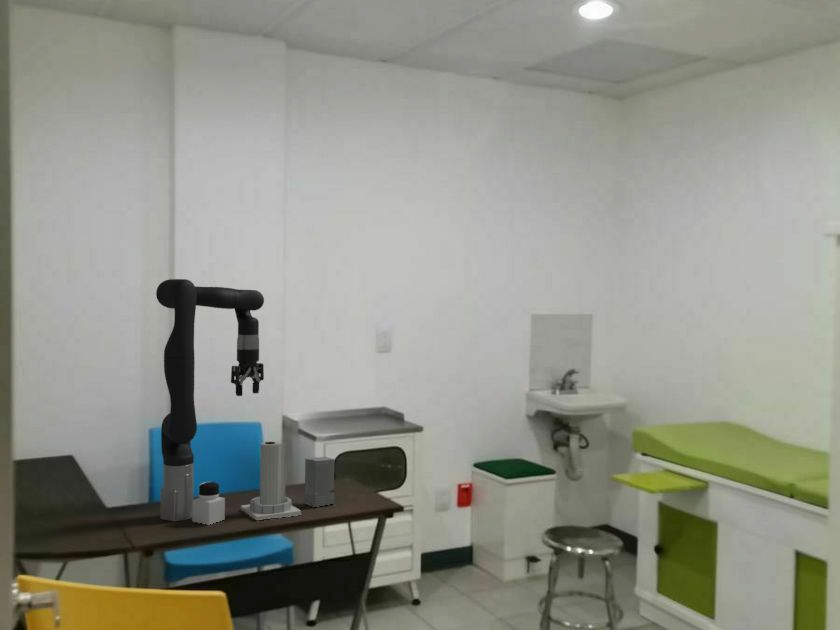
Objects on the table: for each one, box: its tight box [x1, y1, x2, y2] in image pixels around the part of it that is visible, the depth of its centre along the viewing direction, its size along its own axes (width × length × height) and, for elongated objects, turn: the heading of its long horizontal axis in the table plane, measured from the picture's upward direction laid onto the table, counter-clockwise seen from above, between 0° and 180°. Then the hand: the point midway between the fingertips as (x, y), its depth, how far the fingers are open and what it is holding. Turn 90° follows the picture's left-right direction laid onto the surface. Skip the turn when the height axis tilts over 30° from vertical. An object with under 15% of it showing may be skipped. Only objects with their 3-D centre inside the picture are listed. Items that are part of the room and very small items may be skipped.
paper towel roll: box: [259, 441, 287, 505], centre depth 270 cm, size 7×6×21 cm
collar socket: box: [240, 496, 302, 521], centre depth 270 cm, size 15×15×4 cm
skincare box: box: [304, 456, 335, 508], centre depth 281 cm, size 8×7×16 cm
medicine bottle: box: [191, 481, 226, 526], centre depth 259 cm, size 7×7×12 cm
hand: (247, 394), depth 287 cm, fingers open, 8 cm apart
